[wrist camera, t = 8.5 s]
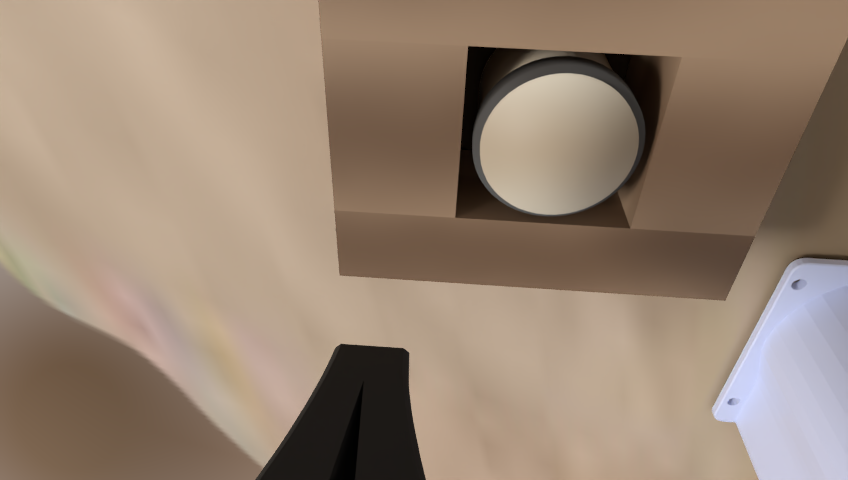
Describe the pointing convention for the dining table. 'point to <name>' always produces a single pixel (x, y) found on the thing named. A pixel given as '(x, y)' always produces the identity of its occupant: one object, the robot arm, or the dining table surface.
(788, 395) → the robot arm
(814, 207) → the dining table surface
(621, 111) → the birch peg inner
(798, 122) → the walnut block
